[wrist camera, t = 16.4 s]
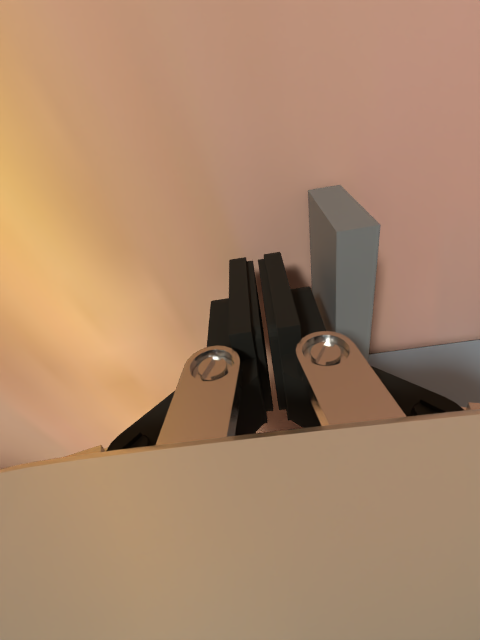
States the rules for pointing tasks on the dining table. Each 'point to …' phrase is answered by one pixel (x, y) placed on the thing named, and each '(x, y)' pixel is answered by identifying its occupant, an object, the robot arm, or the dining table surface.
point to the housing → (358, 296)
